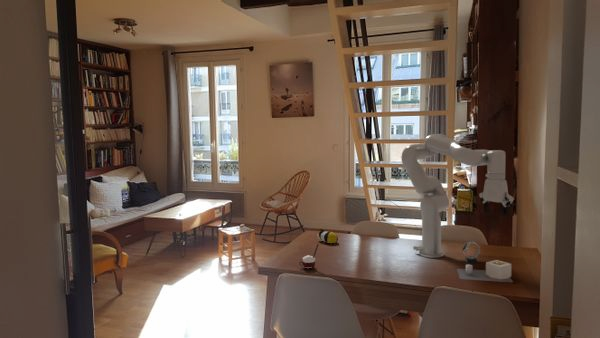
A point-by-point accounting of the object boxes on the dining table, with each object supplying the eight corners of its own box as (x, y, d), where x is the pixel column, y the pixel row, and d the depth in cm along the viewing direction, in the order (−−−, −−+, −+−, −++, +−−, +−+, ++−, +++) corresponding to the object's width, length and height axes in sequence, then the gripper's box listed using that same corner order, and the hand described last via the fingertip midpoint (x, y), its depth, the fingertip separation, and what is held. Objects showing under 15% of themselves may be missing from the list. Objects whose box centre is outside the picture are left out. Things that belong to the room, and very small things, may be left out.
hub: (488, 278, 181) (489, 264, 181) (485, 272, 190) (485, 258, 189) (511, 280, 179) (512, 265, 178) (507, 273, 187) (507, 259, 187)
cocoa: (298, 270, 205) (296, 246, 204) (303, 265, 211) (301, 242, 210) (317, 270, 202) (315, 246, 201) (321, 266, 208) (319, 242, 206)
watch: (461, 262, 209) (461, 240, 208) (478, 262, 208) (478, 240, 207) (463, 265, 204) (463, 243, 203) (480, 266, 202) (481, 243, 202)
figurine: (322, 239, 263) (322, 226, 262) (341, 243, 252) (340, 229, 251) (313, 241, 257) (313, 228, 256) (331, 245, 246) (331, 232, 245)
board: (459, 282, 182) (459, 269, 182) (456, 271, 195) (456, 260, 195) (513, 285, 176) (513, 272, 176) (506, 274, 190) (506, 262, 189)
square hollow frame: (500, 279, 179) (500, 266, 179) (485, 274, 186) (485, 262, 185) (511, 276, 183) (511, 263, 182) (496, 271, 189) (496, 259, 189)
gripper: (474, 176, 200) (474, 211, 202) (508, 179, 185) (507, 217, 187) (485, 175, 204) (484, 210, 206) (518, 177, 189) (518, 215, 191)
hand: (495, 213), depth 196 cm, fingers open, 9 cm apart
